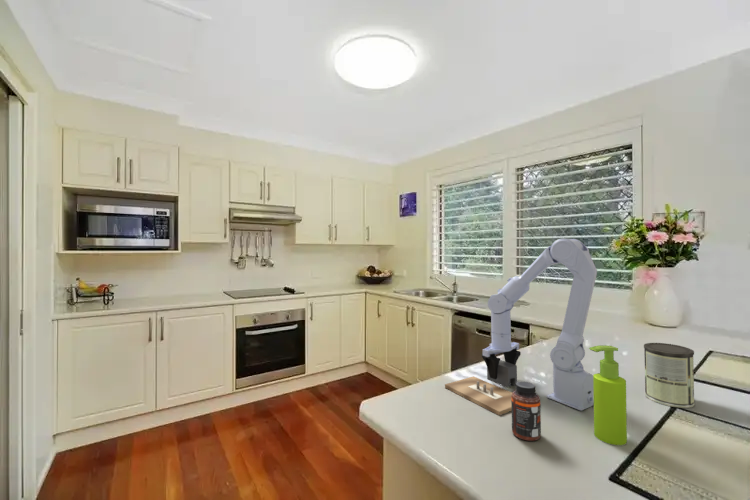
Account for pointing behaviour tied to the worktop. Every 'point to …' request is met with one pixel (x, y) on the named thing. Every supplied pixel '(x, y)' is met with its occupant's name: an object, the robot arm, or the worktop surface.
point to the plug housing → (505, 374)
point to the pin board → (483, 394)
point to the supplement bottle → (526, 412)
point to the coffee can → (669, 374)
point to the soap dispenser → (609, 399)
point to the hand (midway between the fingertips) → (501, 375)
